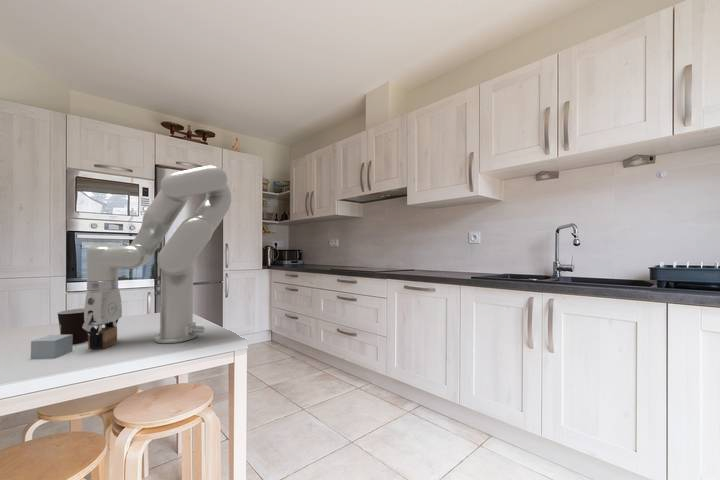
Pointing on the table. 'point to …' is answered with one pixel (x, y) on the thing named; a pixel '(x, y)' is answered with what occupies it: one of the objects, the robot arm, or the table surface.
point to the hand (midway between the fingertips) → (103, 344)
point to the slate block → (51, 346)
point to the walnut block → (107, 337)
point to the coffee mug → (73, 324)
